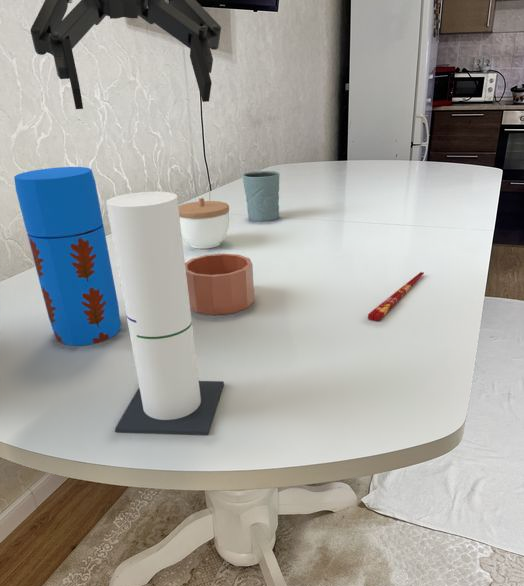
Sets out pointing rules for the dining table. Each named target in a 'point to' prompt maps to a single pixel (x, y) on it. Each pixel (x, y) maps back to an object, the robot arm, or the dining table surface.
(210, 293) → the crock
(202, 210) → the lidded bowl
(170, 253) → the cylindrical container
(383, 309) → the chopstick
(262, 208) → the grey-green textured cup
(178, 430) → the mat
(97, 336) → the thermos
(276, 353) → the dining table surface
